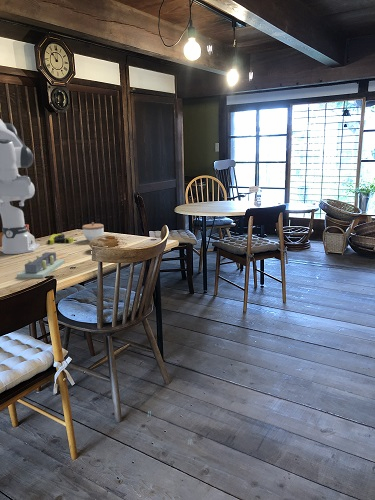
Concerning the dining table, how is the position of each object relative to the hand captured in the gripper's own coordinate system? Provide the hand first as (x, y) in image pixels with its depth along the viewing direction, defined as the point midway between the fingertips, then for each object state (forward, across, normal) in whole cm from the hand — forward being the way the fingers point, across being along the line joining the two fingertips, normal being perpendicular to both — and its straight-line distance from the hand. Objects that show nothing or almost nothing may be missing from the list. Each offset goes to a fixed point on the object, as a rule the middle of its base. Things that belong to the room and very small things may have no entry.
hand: (12, 206), depth 188 cm
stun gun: (+30, +1, -55) cm, 62 cm away
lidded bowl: (+29, -19, -55) cm, 65 cm away
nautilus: (+30, -35, -32) cm, 56 cm away
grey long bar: (+28, -14, +6) cm, 31 cm away
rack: (+29, -14, +6) cm, 33 cm away
